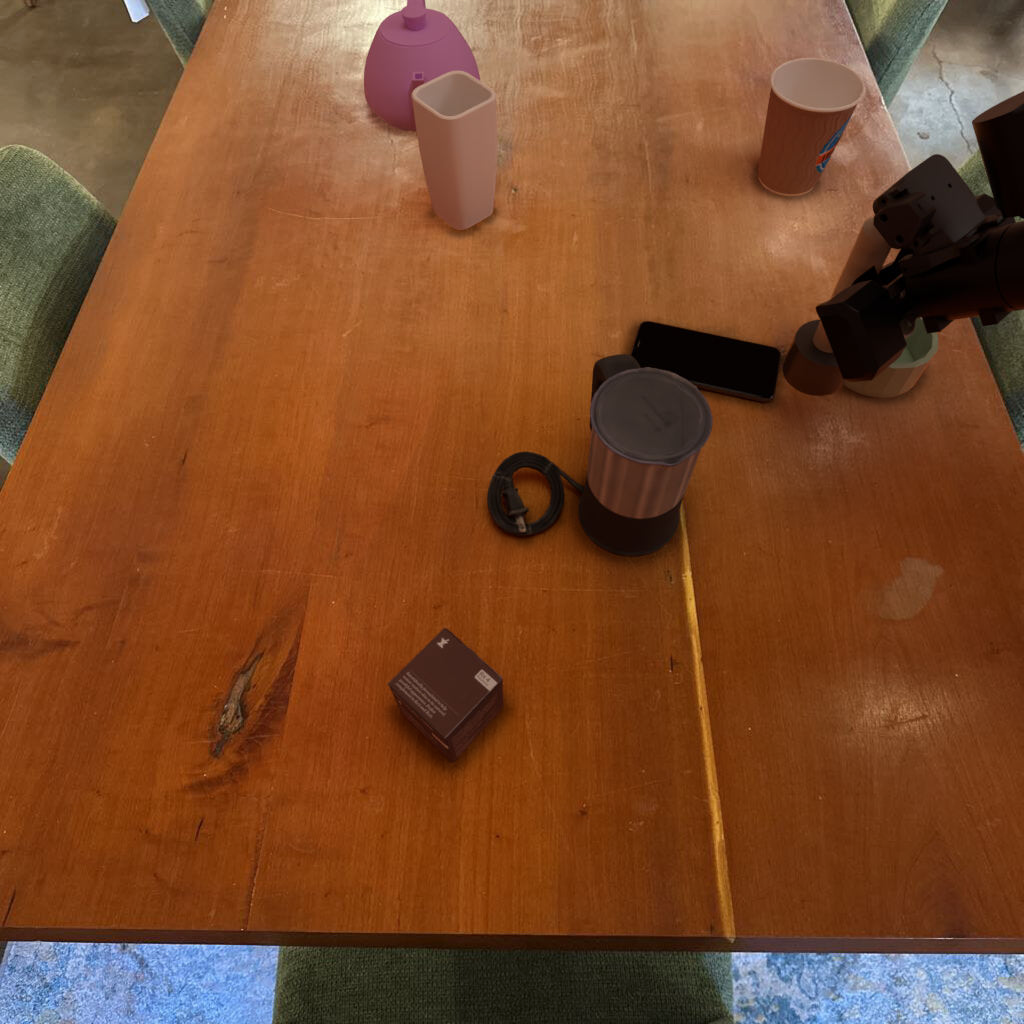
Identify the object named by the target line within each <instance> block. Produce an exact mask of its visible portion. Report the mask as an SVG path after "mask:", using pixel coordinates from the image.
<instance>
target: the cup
mask: <svg viewBox="0 0 1024 1024" xmlns="http://www.w3.org/2000/svg"><path fill="white" fill-rule="evenodd" d="M412 101H413V109H414V116H415V124H416V131H417V132H416V137H417V143H418V151H419V155H420V160H421V165H422V170H423V175H424V179H425V183H426V187H427V192H428V195H429V199H430V202H431V206H432V209H433V212H434V214H435V215H436V216H437V217H438V218H440V219H441V220H442V221H443V222H445V223H446V224H447V225H448V226H450V227H451V228H452V229H454V230H459V231H465V230H468V229H470V228H472V227H474V226H476V225H477V224H478V223H480V222H482V221H483V220H485V219H486V218H488V217H490V216H491V215H492V214H493V212H494V205H495V197H496V186H497V185H496V184H497V174H498V113H497V111H498V110H497V93H496V91H495V90H494V89H493V88H492V87H490V86H489V85H488V84H486V83H484V82H482V80H480V81H479V80H478V79H476V78H475V77H473V76H472V75H470V74H469V73H466V72H464V71H451V72H448V73H445V74H443V75H441V76H439V77H437V78H435V79H433V80H431V81H429V82H427V83H425V84H423V85H421V86H419V87H417V88H416V89H414V91H413V92H412Z"/></svg>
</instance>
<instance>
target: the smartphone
mask: <svg viewBox="0 0 1024 1024" xmlns="http://www.w3.org/2000/svg"><path fill="white" fill-rule="evenodd" d="M629 355H631V356H633V357H634V358H635V359H636V361H637V362H638V364H639V365H640V367H641V368H646V367H650V368H657V369H661V370H666V371H669V372H672V373H675V374H677V375H679V376H680V377H682V378H684V379H686V380H688V381H689V382H691V383H692V384H693V385H694V386H696V387H697V388H698V389H702V390H703V389H704V390H707V391H712V392H716V393H721V394H724V395H730V396H733V397H738V398H744V399H747V400H752V401H756V402H757V401H758V402H760V403H761V402H762V403H769V402H771V401H773V400H774V398H775V396H776V392H777V386H778V380H779V375H780V374H779V373H780V368H781V361H782V352H781V350H780V349H778V348H777V347H774V346H771V345H767V344H763V343H762V344H761V343H756V342H752V341H748V340H743V339H737V338H733V337H729V336H723V335H719V334H712V333H708V332H704V331H699V330H695V329H689V328H685V327H680V326H676V325H671V324H666V323H662V322H656V321H651V320H644V321H642V322H641V323H640V324H639V325H638V328H637V331H636V333H635V336H634V340H633V343H632V347H631V351H630V353H629Z"/></svg>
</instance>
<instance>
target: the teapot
mask: <svg viewBox="0 0 1024 1024" xmlns="http://www.w3.org/2000/svg"><path fill="white" fill-rule="evenodd" d="M371 41H372V42H371V43H370V46H369V49H368V51H367V54H366V58H365V64H364V68H363V69H364V70H363V71H364V72H363V91H364V99H365V101H366V103H367V105H368V106H369V107H370V110H371V111H372V112H373V113H374V114H375V115H376V116H377V117H379V118H380V119H381V120H382V121H383V122H385V123H386V124H388V125H389V126H391V127H393V128H395V129H398V130H401V131H405V132H409V133H410V132H411V133H417V131H416V124H415V116H414V109H413V101H412V92H413V91H414V89H416V88H417V87H419V86H421V85H423V84H425V83H427V82H429V81H431V80H433V79H435V78H437V77H439V76H441V75H443V74H445V73H448V72H451V71H464V72H466V73H469V74H470V75H472V76H473V77H475V78H476V79H478V80H479V81H481V76H480V71H479V67H478V64H477V60H476V58H475V55H474V52H473V51H472V49H471V47H470V44H469V43H468V42H467V40H466V39H465V37H464V35H463V34H462V33H461V31H460V29H459V28H458V27H457V25H456V24H455V23H454V22H453V21H452V19H451V18H450V17H449V16H447V15H446V14H444V13H443V12H441V11H438V10H436V9H432V8H427V5H426V0H406V6H403V8H402V9H401V10H399V11H396V12H394V13H391V14H390V15H388V16H387V17H385V18H384V19H383V20H382V21H381V23H380V24H379V26H378V27H377V29H376V31H375V34H374V36H373V38H372V40H371Z"/></svg>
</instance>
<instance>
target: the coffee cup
mask: <svg viewBox="0 0 1024 1024" xmlns="http://www.w3.org/2000/svg"><path fill="white" fill-rule="evenodd" d="M769 84H770V91H769V97H768V103H767V110H766V118H765V121H764V122H765V124H764V129H763V136H762V142H761V148H760V154H759V159H758V160H759V161H758V174H757V175H758V180H759V183H760V184H761V185H762V186H763V187H764V188H765V189H766V190H767V191H769V192H771V193H773V194H776V195H780V196H783V197H798V196H802V195H805V194H808V193H809V192H811V191H812V189H814V187H815V185H816V184H817V182H818V181H819V180H820V178H821V176H822V174H823V172H824V171H825V170H826V166H827V165H828V163H829V161H830V159H831V157H832V155H833V153H834V151H835V149H836V147H837V146H838V144H839V142H840V139H841V138H842V136H843V134H844V131H845V130H846V128H847V126H848V124H849V123H850V121H851V118H852V117H853V114H854V112H855V110H856V108H857V106H858V104H859V103H860V102H861V101H863V99H864V97H865V95H866V91H867V90H866V83H865V81H864V79H863V77H862V76H861V75H860V74H859V73H858V72H856V70H854V69H852V68H851V67H849V66H848V65H846V64H843V63H841V62H838V61H835V60H831V59H827V58H821V57H820V58H819V57H800V58H795V59H790V60H787V61H784V62H783V63H781V64H779V65H778V66H777V67H775V69H774V70H773V71H772V73H771V74H770V78H769Z"/></svg>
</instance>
